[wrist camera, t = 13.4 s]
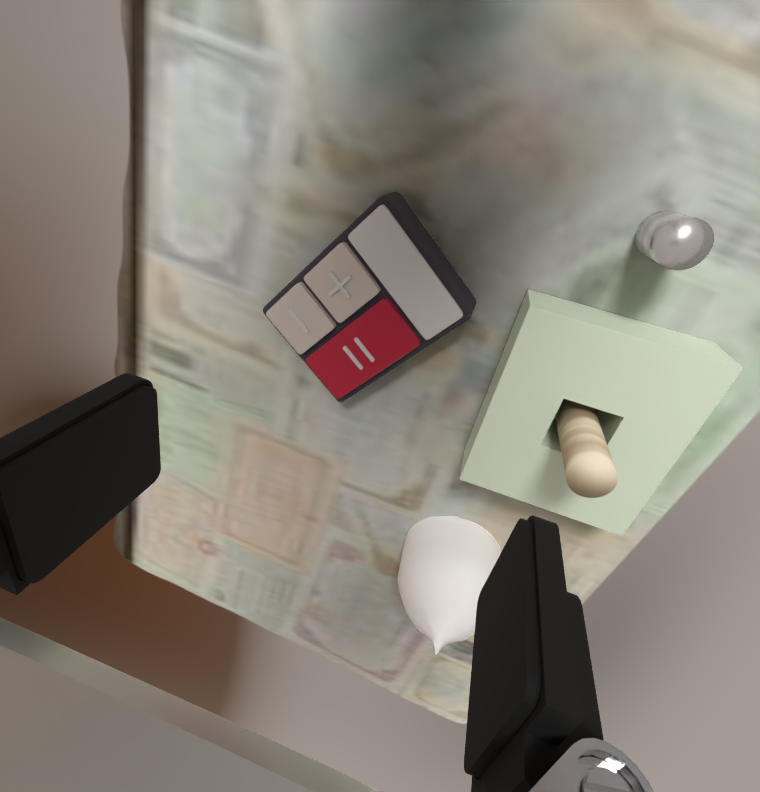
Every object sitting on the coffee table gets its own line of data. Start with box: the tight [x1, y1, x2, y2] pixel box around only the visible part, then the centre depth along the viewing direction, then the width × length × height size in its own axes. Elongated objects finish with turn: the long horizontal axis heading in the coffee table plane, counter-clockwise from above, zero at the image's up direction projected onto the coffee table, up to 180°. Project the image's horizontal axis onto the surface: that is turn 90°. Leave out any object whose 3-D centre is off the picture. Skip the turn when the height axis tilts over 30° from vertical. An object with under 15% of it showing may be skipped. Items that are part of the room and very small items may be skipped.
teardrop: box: [397, 516, 501, 655], centre depth 44 cm, size 11×11×12 cm
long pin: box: [555, 399, 618, 498], centre depth 33 cm, size 3×3×11 cm
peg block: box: [459, 289, 743, 536], centre depth 35 cm, size 16×14×5 cm
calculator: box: [263, 192, 476, 402], centre depth 37 cm, size 11×4×15 cm
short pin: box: [635, 211, 714, 270], centre depth 28 cm, size 3×3×5 cm
